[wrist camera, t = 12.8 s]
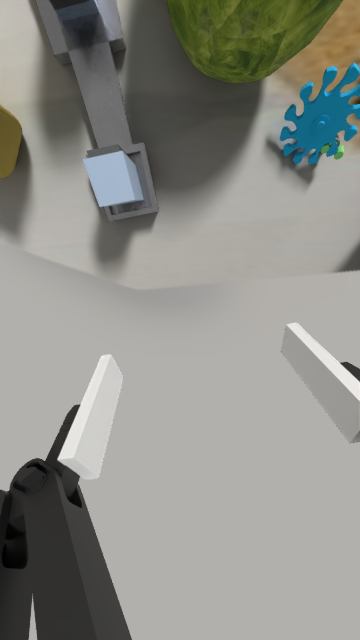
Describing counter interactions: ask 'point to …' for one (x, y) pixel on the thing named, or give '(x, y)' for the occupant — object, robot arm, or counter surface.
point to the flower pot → (8, 142)
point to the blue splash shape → (323, 118)
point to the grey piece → (99, 82)
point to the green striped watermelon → (246, 33)
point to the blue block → (113, 176)
